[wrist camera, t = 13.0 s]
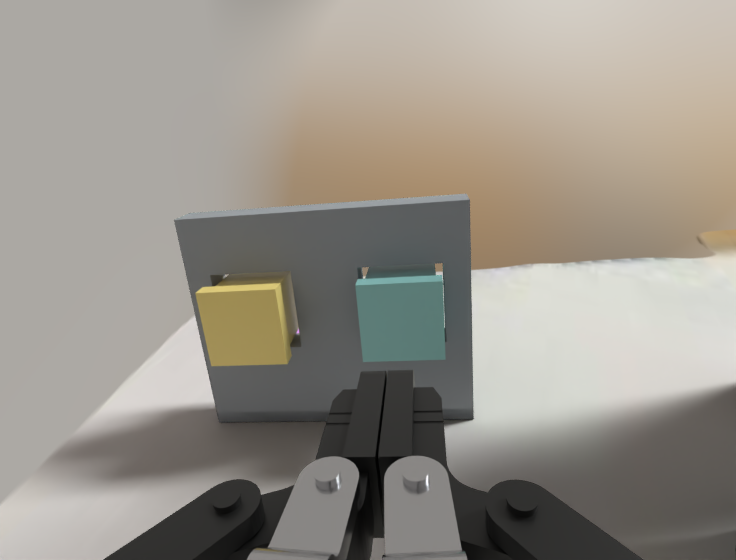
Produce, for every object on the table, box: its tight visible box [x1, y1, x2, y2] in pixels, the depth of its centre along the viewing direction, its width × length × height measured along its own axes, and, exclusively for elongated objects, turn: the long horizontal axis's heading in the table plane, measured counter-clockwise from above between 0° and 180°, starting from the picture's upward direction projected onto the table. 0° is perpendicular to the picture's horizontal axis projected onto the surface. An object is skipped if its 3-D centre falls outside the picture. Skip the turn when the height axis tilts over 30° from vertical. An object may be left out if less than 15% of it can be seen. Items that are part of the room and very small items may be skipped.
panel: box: [174, 194, 473, 422], centre depth 31 cm, size 17×5×14 cm, turn 84°
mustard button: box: [195, 271, 299, 366], centre depth 30 cm, size 5×6×5 cm
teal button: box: [355, 263, 446, 362], centre depth 29 cm, size 5×6×5 cm
